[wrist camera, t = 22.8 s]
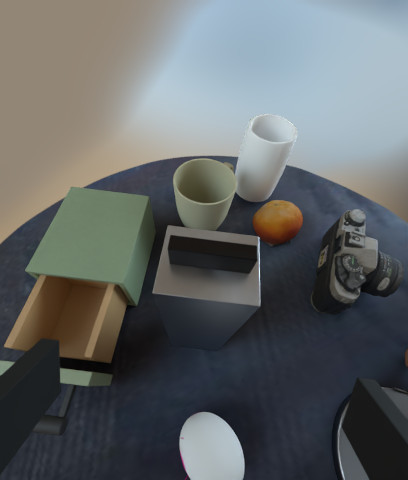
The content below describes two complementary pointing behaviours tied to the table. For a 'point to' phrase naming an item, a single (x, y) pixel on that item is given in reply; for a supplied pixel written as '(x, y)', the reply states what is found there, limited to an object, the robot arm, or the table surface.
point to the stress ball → (210, 449)
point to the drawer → (70, 332)
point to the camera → (352, 266)
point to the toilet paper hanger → (406, 358)
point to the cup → (263, 156)
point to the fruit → (277, 222)
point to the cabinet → (99, 240)
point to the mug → (204, 192)
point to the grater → (206, 285)
